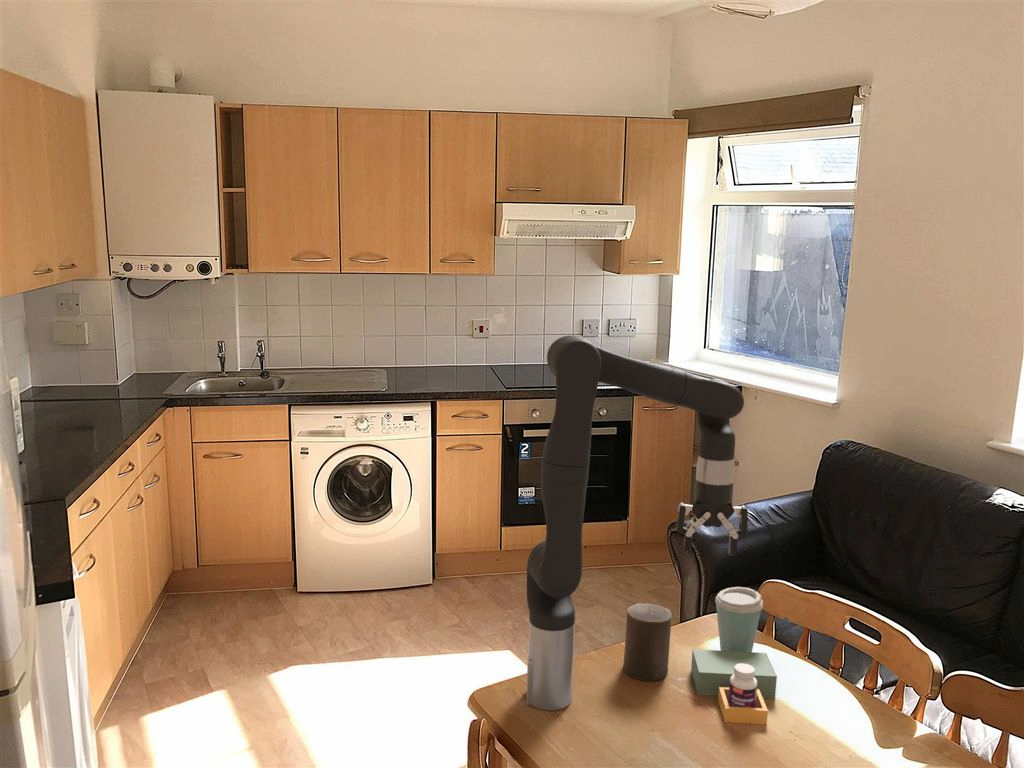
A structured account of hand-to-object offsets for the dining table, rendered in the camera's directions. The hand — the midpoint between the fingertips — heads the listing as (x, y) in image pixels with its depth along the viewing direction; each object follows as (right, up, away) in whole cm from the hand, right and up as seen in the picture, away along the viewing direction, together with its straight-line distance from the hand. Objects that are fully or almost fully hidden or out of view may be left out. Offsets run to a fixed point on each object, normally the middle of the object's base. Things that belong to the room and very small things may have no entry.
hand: (709, 553), depth 183 cm
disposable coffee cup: (+10, -27, +20) cm, 35 cm away
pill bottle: (+6, -32, -4) cm, 32 cm away
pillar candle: (-11, -28, +12) cm, 33 cm away
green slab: (+6, -31, +1) cm, 31 cm away
